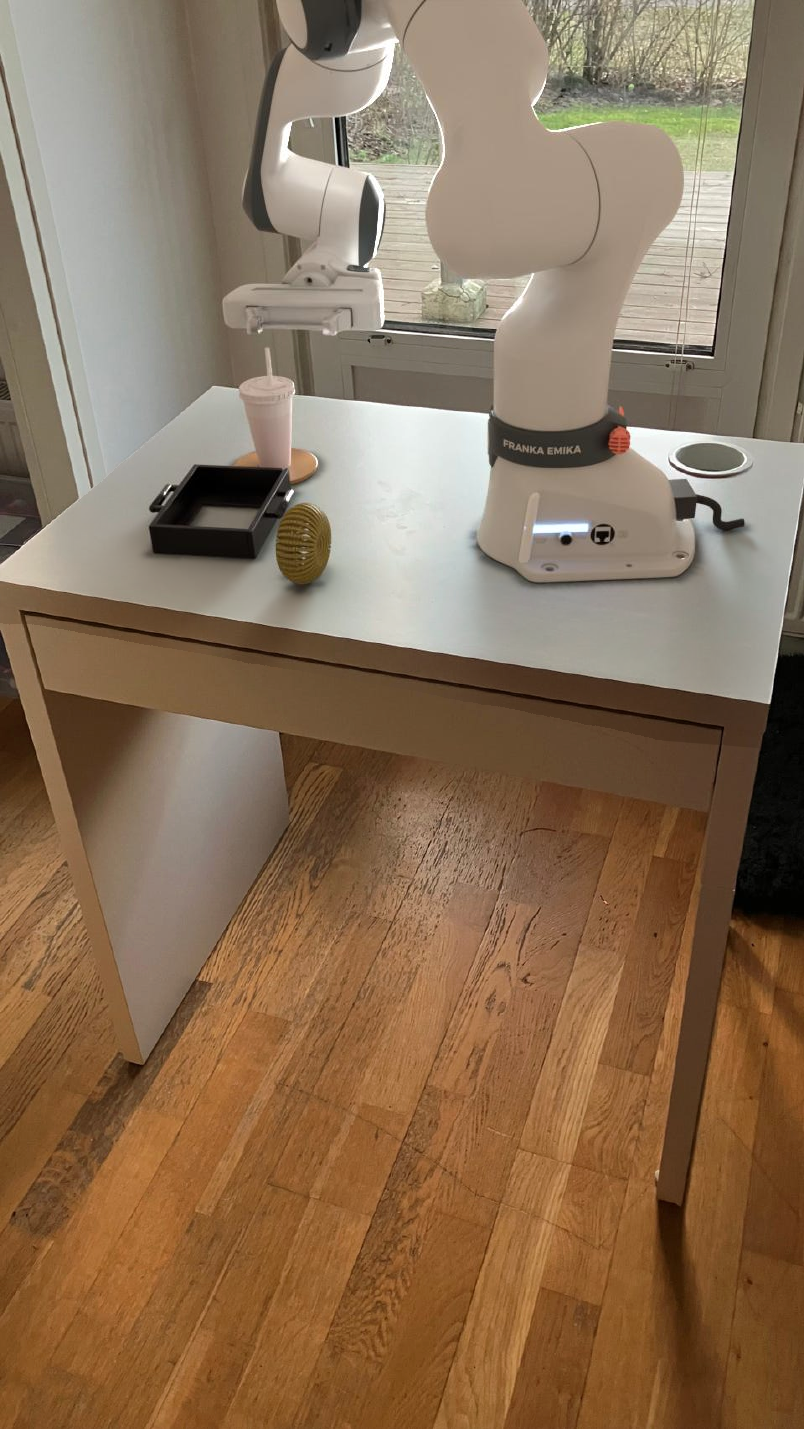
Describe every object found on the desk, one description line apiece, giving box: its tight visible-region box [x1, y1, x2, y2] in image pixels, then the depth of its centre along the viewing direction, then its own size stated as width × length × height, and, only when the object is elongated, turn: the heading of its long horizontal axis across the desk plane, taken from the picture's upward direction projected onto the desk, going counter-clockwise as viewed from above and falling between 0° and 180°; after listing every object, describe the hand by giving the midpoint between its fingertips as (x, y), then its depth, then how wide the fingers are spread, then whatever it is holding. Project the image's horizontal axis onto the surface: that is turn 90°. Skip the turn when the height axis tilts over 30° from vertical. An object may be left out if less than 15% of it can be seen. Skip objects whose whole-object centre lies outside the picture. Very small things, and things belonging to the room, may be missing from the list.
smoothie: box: [238, 346, 296, 468], centre depth 136 cm, size 6×6×14 cm
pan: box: [148, 463, 295, 560], centre depth 129 cm, size 15×15×3 cm
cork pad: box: [233, 447, 319, 485], centre depth 141 cm, size 10×10×1 cm
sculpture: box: [275, 502, 332, 585], centre depth 117 cm, size 8×4×8 cm, turn 162°
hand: (289, 328), depth 142 cm, fingers open, 8 cm apart
